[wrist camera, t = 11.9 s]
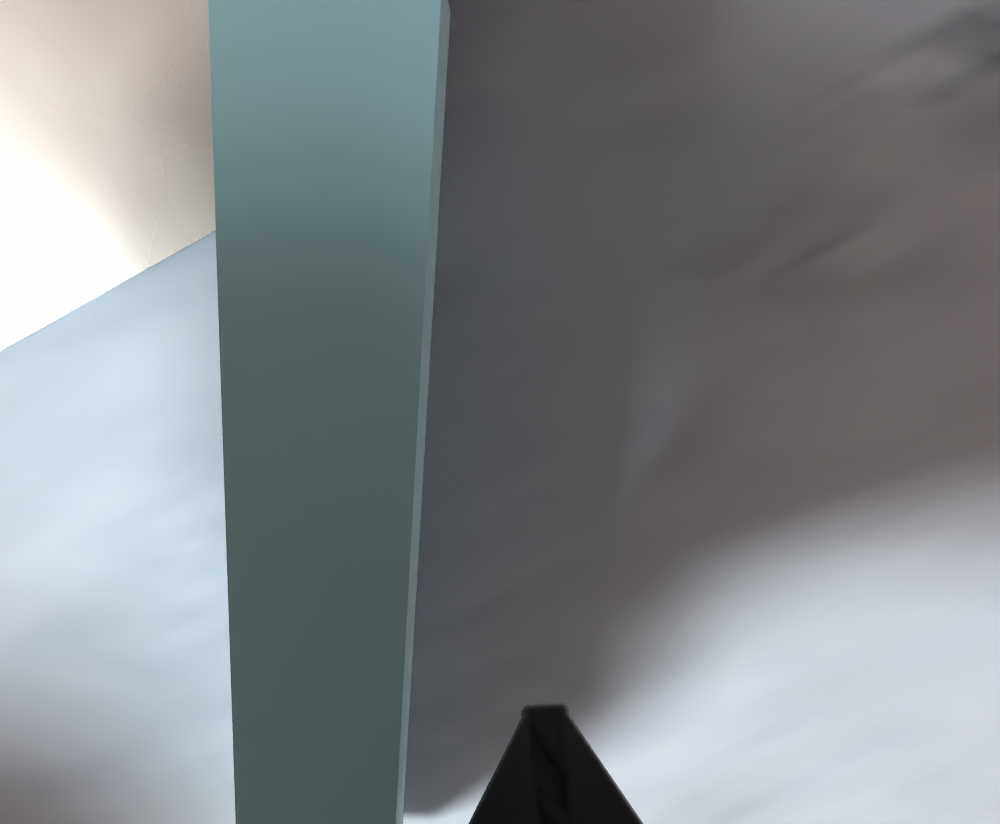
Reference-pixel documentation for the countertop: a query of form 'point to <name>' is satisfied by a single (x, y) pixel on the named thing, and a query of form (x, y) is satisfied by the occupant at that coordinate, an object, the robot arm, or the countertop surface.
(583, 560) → the countertop surface
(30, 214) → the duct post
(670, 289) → the countertop surface
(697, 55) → the countertop surface
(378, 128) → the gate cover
